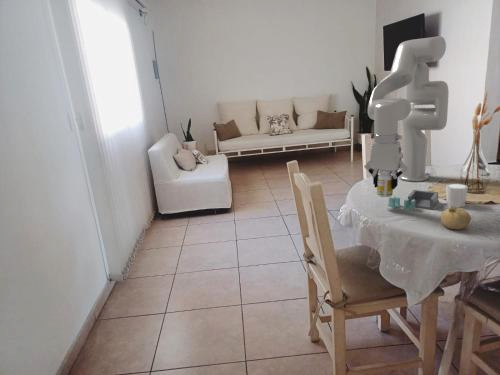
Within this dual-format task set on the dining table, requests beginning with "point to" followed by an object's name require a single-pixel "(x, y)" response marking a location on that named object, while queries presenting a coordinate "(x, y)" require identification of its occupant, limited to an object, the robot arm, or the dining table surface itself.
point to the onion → (455, 218)
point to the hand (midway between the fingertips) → (385, 186)
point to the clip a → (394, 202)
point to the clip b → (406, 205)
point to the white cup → (456, 194)
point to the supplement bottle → (384, 184)
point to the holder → (424, 199)
